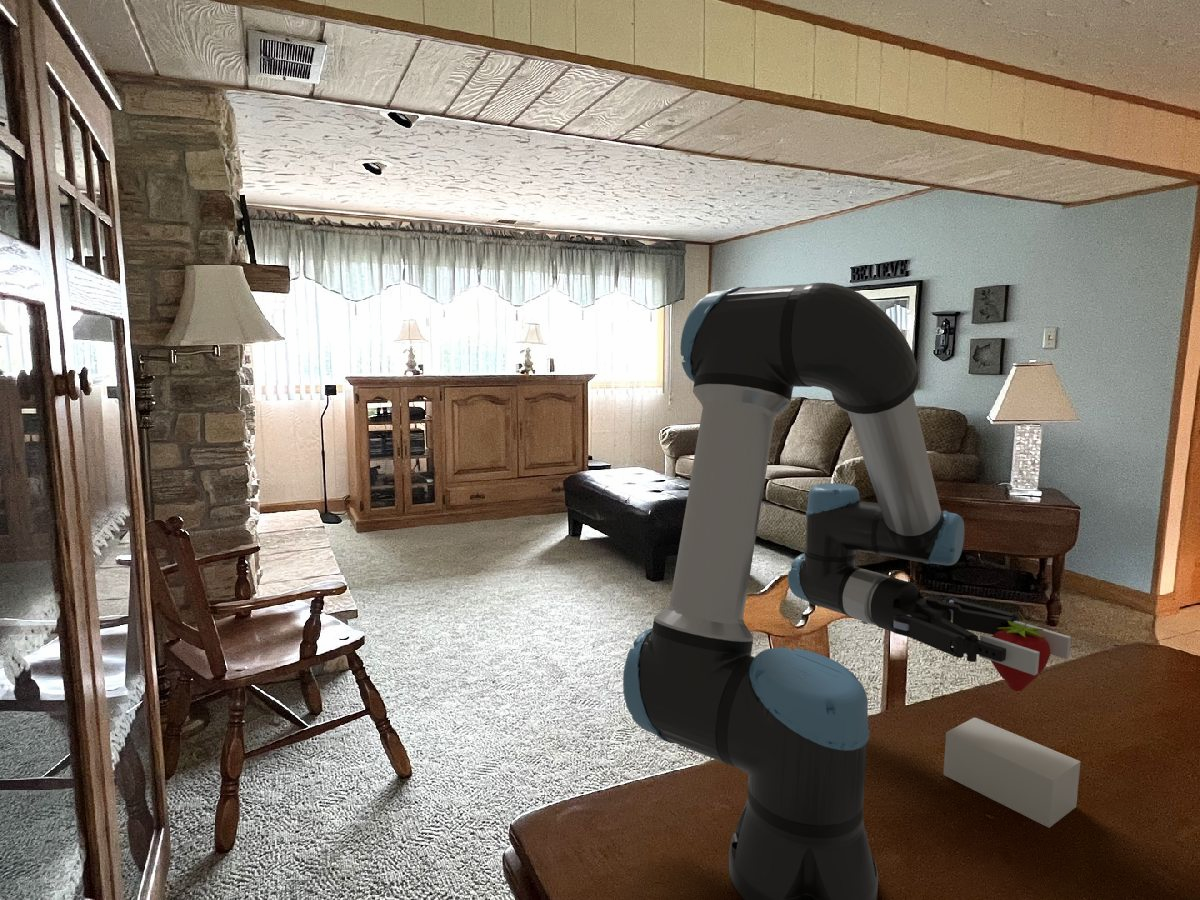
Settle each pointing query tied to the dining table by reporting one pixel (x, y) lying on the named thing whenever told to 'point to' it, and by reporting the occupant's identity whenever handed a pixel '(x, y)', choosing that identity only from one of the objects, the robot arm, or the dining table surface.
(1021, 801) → the block
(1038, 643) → the strawberry
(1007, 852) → the dining table surface
